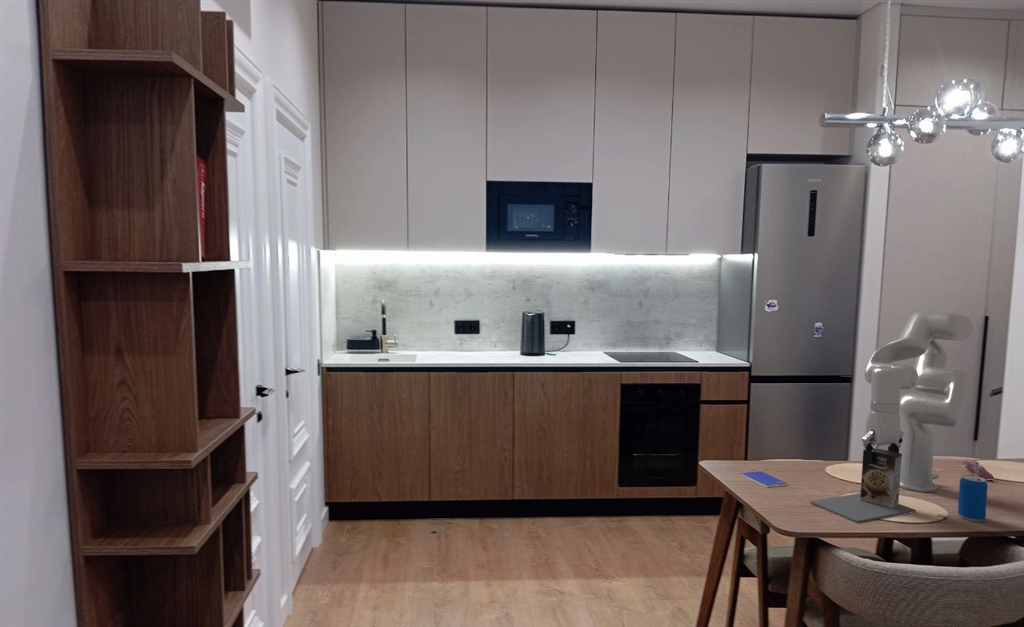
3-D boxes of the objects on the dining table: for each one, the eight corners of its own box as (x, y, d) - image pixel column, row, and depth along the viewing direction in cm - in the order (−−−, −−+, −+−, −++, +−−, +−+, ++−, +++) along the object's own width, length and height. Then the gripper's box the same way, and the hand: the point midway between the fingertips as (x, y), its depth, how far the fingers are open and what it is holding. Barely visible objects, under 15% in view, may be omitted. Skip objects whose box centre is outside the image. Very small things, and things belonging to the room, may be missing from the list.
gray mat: (866, 493, 196) (866, 492, 196) (915, 511, 181) (915, 509, 181) (809, 503, 186) (809, 501, 186) (856, 522, 172) (856, 520, 172)
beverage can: (990, 523, 173) (993, 482, 173) (965, 521, 174) (967, 480, 174) (977, 514, 180) (979, 475, 179) (953, 513, 181) (955, 473, 180)
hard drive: (787, 482, 203) (761, 471, 215) (766, 484, 200) (742, 472, 212) (786, 486, 203) (761, 475, 215) (766, 488, 200) (742, 476, 212)
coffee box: (859, 500, 188) (861, 449, 187) (867, 495, 192) (869, 446, 191) (892, 509, 181) (895, 456, 180) (899, 504, 185) (902, 452, 184)
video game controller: (965, 476, 221) (957, 459, 221) (978, 472, 220) (970, 454, 220) (983, 485, 211) (974, 467, 211) (996, 480, 211) (987, 462, 211)
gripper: (892, 402, 192) (889, 454, 193) (853, 407, 185) (851, 461, 186) (915, 407, 185) (913, 461, 186) (876, 412, 178) (874, 469, 180)
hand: (882, 461), depth 186 cm, fingers open, 9 cm apart
